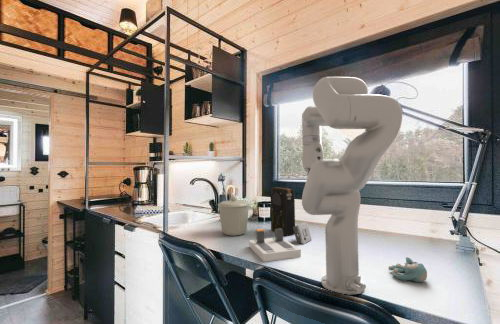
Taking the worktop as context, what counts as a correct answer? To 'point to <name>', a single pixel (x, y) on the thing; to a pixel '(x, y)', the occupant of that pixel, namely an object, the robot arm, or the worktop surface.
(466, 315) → the worktop surface
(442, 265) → the worktop surface
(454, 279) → the worktop surface
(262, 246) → the white slotted tray
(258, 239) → the block
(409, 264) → the stuffed animal
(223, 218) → the canister
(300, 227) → the electrical switch
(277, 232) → the block
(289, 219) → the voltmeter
